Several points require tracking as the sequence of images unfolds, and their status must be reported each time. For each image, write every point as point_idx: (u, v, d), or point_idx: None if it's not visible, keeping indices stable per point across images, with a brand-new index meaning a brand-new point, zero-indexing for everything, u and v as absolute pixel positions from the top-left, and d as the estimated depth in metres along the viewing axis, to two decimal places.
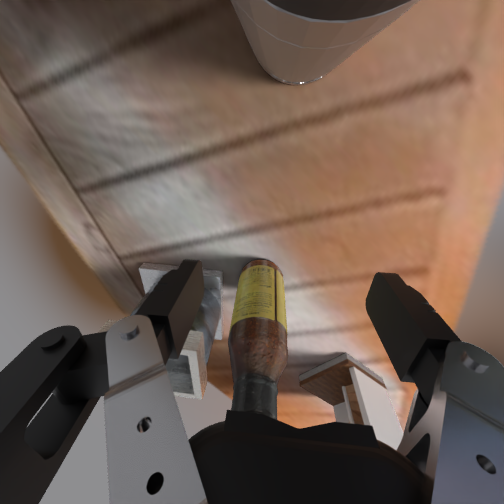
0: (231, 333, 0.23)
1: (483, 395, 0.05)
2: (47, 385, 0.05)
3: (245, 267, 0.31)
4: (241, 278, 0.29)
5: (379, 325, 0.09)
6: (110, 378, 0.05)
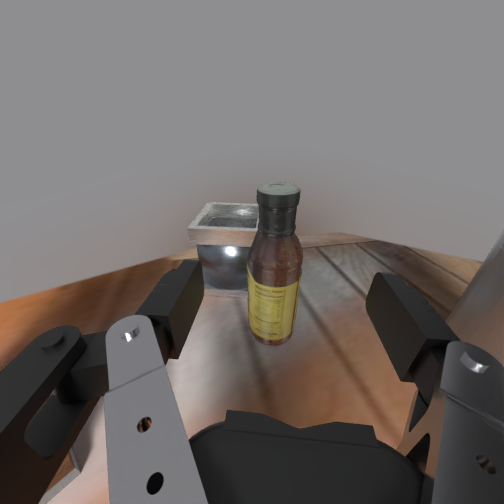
0: None
1: (483, 395, 0.05)
2: (47, 385, 0.05)
3: None
4: None
5: (379, 325, 0.09)
6: (110, 378, 0.05)
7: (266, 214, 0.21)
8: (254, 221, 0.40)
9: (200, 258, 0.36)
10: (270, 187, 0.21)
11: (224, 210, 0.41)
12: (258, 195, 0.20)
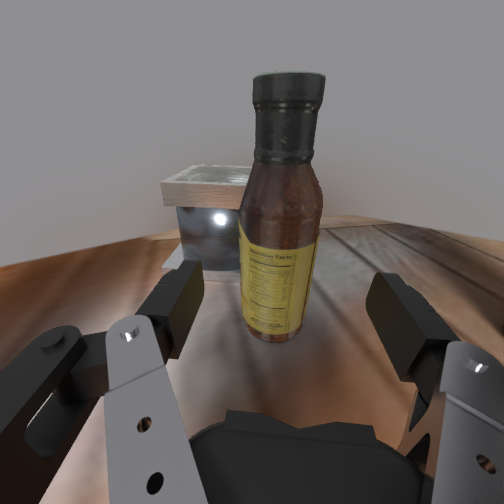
0: None
1: (483, 395, 0.05)
2: (47, 385, 0.05)
3: None
4: None
5: (379, 325, 0.09)
6: (110, 378, 0.05)
7: (267, 120, 0.12)
8: None
9: (181, 229, 0.28)
10: None
11: (214, 174, 0.32)
12: (255, 86, 0.12)
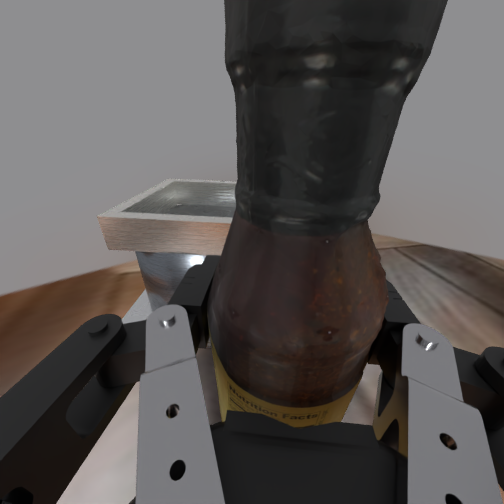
0: None
1: (437, 372, 0.06)
2: (89, 370, 0.06)
3: None
4: None
5: None
6: (147, 360, 0.06)
7: (265, 115, 0.04)
8: None
9: (142, 275, 0.20)
10: None
11: (194, 192, 0.24)
12: (228, 10, 0.04)
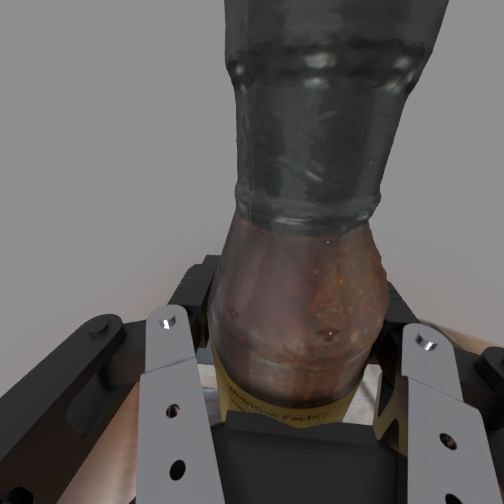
0: None
1: (437, 372, 0.06)
2: (89, 370, 0.06)
3: None
4: None
5: None
6: (147, 360, 0.06)
7: (266, 115, 0.04)
8: None
9: None
10: None
11: None
12: (228, 9, 0.04)
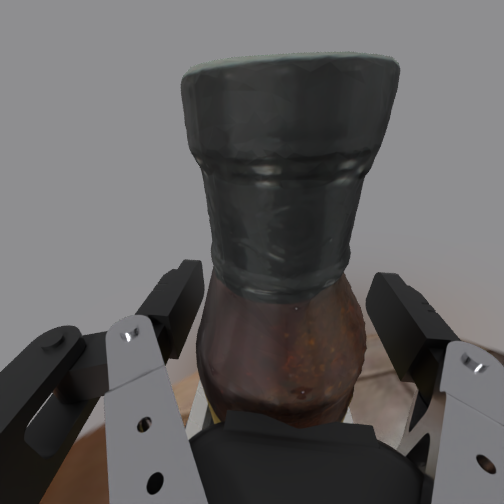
0: None
1: (483, 395, 0.05)
2: (47, 385, 0.05)
3: None
4: None
5: (379, 325, 0.09)
6: (110, 378, 0.05)
7: (226, 203, 0.04)
8: None
9: None
10: None
11: None
12: (184, 107, 0.04)
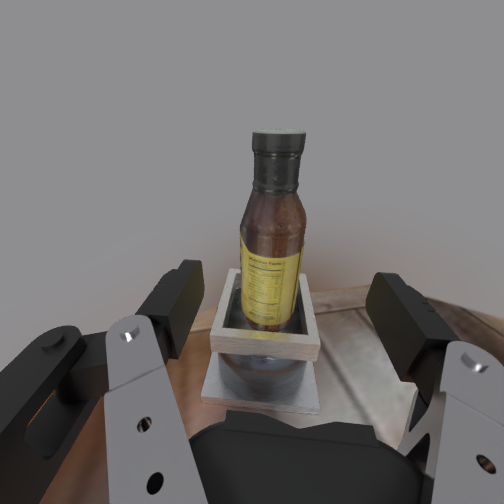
0: None
1: (483, 395, 0.05)
2: (47, 385, 0.05)
3: None
4: None
5: (379, 325, 0.09)
6: (110, 378, 0.05)
7: (263, 163, 0.17)
8: None
9: (222, 357, 0.26)
10: (269, 130, 0.17)
11: None
12: (254, 138, 0.17)
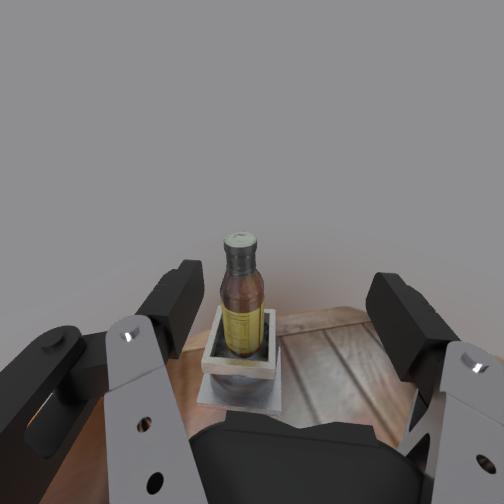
0: None
1: (483, 395, 0.05)
2: (47, 385, 0.05)
3: None
4: None
5: (379, 325, 0.09)
6: (110, 378, 0.05)
7: (230, 259, 0.27)
8: (264, 327, 0.40)
9: (211, 375, 0.36)
10: (234, 238, 0.27)
11: None
12: (224, 245, 0.27)
